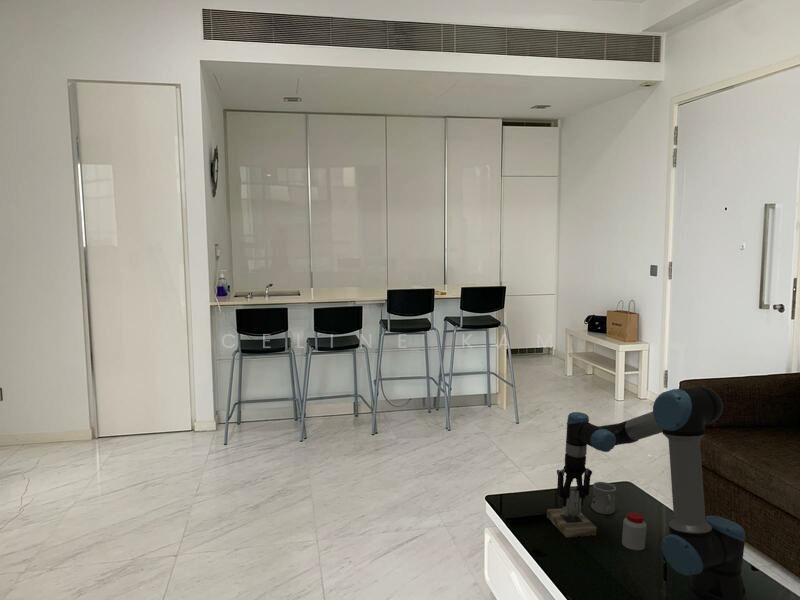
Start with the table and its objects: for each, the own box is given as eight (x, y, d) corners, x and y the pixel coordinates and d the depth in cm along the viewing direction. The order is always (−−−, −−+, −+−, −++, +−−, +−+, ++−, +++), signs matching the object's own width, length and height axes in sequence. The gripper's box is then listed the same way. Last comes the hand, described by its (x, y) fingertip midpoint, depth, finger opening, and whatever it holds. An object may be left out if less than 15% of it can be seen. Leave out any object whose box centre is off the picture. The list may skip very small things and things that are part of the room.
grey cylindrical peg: (579, 526, 224) (581, 491, 222) (568, 527, 223) (570, 491, 221) (573, 521, 228) (575, 486, 227) (562, 521, 227) (564, 486, 226)
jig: (596, 535, 219) (596, 527, 218) (565, 537, 216) (566, 529, 216) (575, 514, 234) (575, 507, 234) (546, 516, 232) (547, 509, 232)
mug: (588, 504, 244) (590, 481, 243) (610, 505, 244) (612, 482, 243) (597, 518, 232) (598, 494, 231) (620, 519, 232) (622, 495, 230)
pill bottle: (646, 551, 208) (649, 521, 207) (623, 548, 210) (625, 519, 209) (642, 540, 216) (644, 511, 215) (620, 538, 217) (622, 509, 216)
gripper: (591, 449, 228) (587, 507, 230) (549, 451, 224) (545, 510, 227) (602, 456, 220) (597, 516, 223) (558, 458, 217) (554, 519, 220)
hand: (571, 513), depth 225 cm, fingers closed on grey cylindrical peg, 4 cm apart
